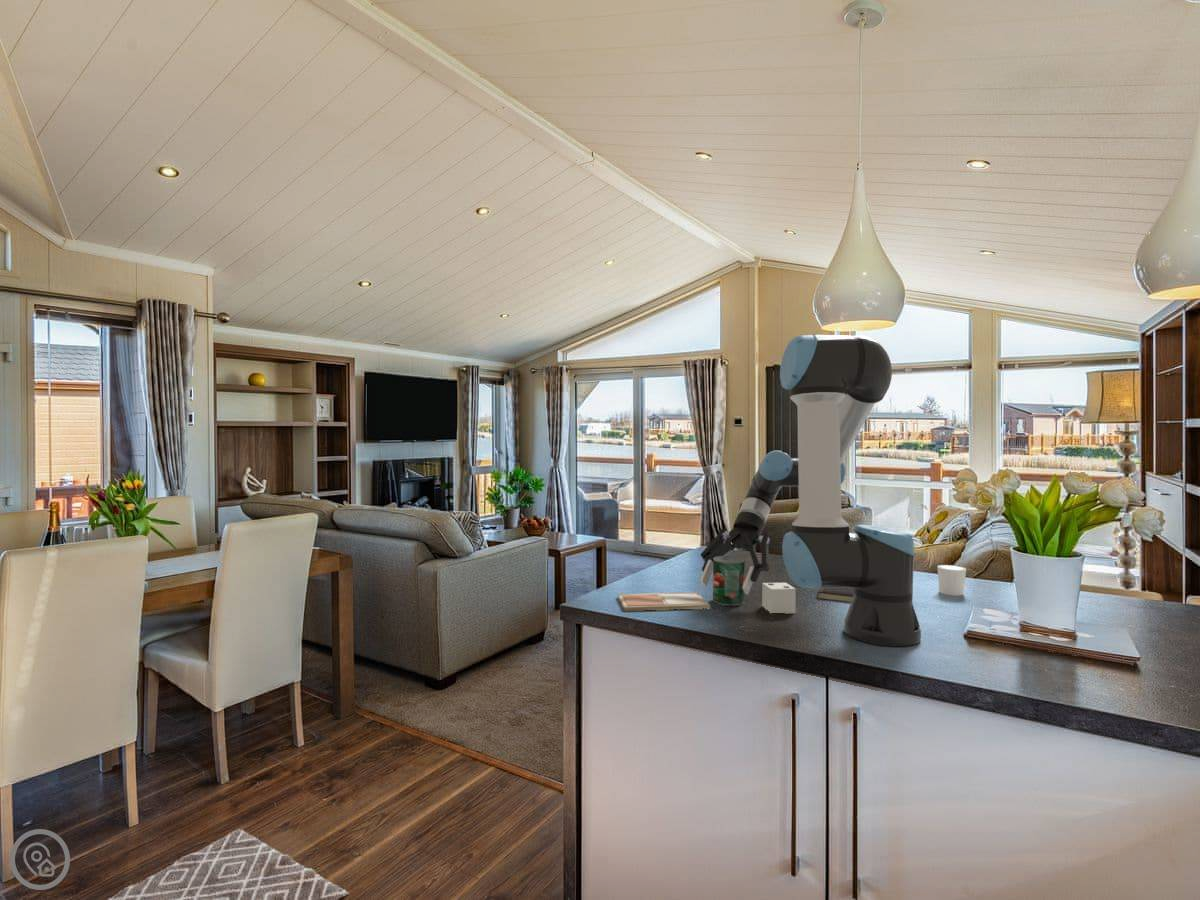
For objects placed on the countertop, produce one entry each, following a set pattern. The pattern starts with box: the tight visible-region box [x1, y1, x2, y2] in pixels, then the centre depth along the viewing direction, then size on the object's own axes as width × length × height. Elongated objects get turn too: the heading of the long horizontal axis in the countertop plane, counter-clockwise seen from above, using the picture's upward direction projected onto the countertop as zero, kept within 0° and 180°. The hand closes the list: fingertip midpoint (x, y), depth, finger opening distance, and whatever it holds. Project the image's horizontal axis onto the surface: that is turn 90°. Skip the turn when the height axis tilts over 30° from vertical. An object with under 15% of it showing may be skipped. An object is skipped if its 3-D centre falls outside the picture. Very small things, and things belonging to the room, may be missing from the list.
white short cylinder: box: [937, 564, 967, 597], centre depth 173 cm, size 7×7×7 cm
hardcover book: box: [816, 587, 854, 603], centre depth 174 cm, size 16×23×2 cm
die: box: [761, 582, 797, 614], centre depth 156 cm, size 6×6×6 cm
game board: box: [617, 591, 711, 612], centre depth 161 cm, size 12×21×1 cm, turn 96°
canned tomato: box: [712, 555, 746, 606], centre depth 163 cm, size 8×8×11 cm
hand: (723, 587), depth 160 cm, fingers open, 11 cm apart
